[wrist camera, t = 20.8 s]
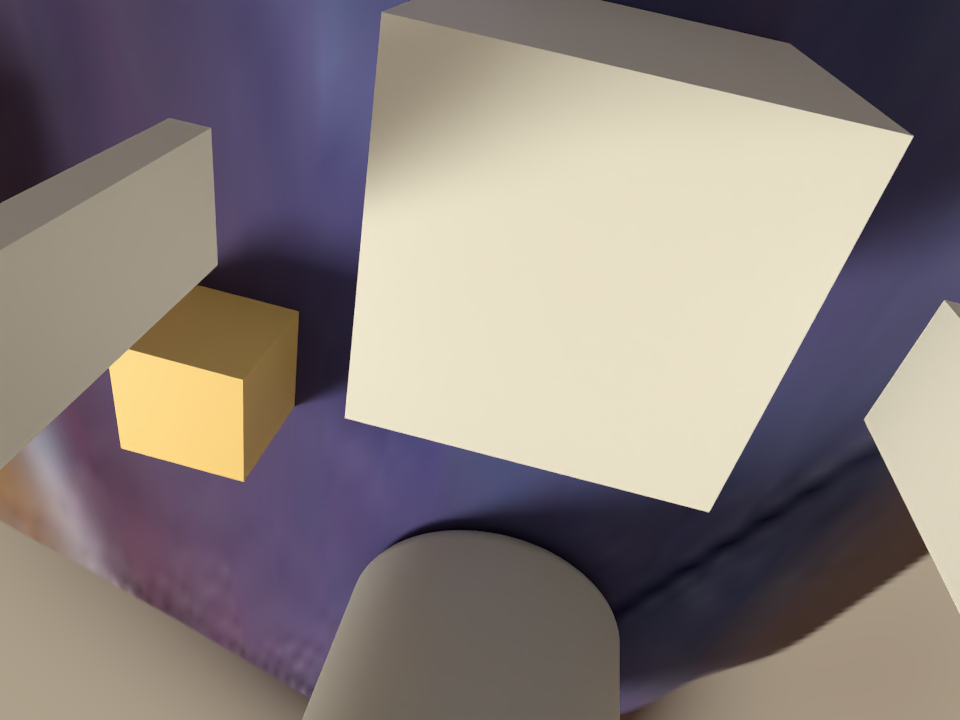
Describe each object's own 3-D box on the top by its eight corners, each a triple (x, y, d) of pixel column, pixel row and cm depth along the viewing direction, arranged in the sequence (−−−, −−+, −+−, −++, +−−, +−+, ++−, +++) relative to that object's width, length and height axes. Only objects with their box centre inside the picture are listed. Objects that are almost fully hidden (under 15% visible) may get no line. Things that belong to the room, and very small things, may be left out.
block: (182, 279, 25) (105, 343, 21) (299, 310, 25) (242, 379, 21) (189, 376, 28) (121, 448, 24) (295, 405, 27) (243, 481, 24)
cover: (481, -28, 18) (382, 12, 10) (789, 43, 18) (913, 136, 10) (436, 252, 22) (344, 417, 15) (679, 312, 22) (709, 512, 15)
